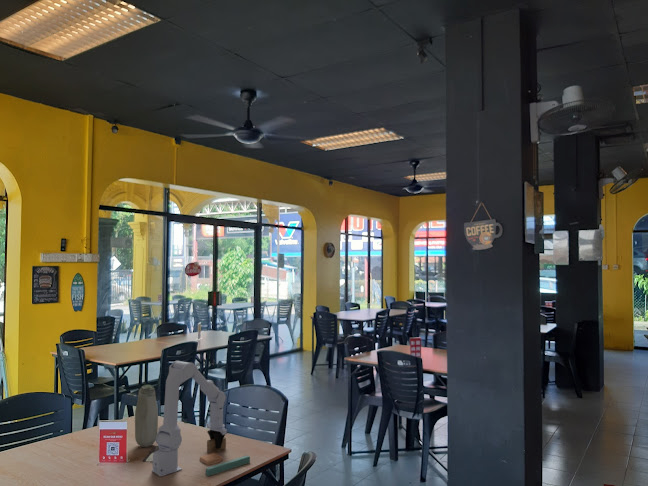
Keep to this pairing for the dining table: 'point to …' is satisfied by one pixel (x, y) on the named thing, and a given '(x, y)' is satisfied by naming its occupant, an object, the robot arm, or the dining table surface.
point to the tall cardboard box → (212, 446)
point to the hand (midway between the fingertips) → (216, 447)
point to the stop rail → (227, 465)
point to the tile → (210, 458)
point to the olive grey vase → (146, 417)
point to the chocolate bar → (151, 454)
